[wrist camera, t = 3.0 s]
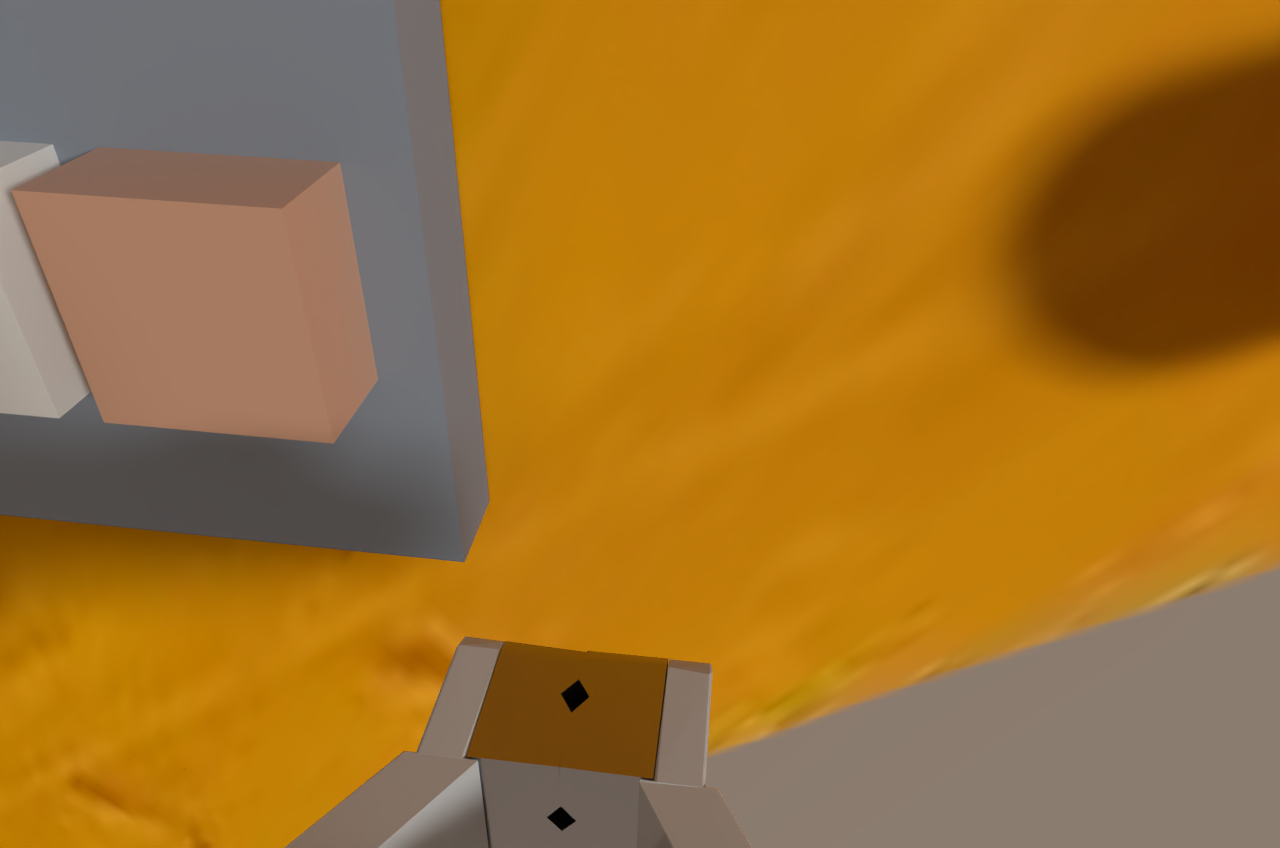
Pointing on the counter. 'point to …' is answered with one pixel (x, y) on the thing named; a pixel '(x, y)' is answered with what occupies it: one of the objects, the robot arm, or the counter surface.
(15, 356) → the white tile
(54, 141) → the grey flat slab
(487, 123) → the counter surface
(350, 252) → the terracotta tile
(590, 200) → the counter surface
